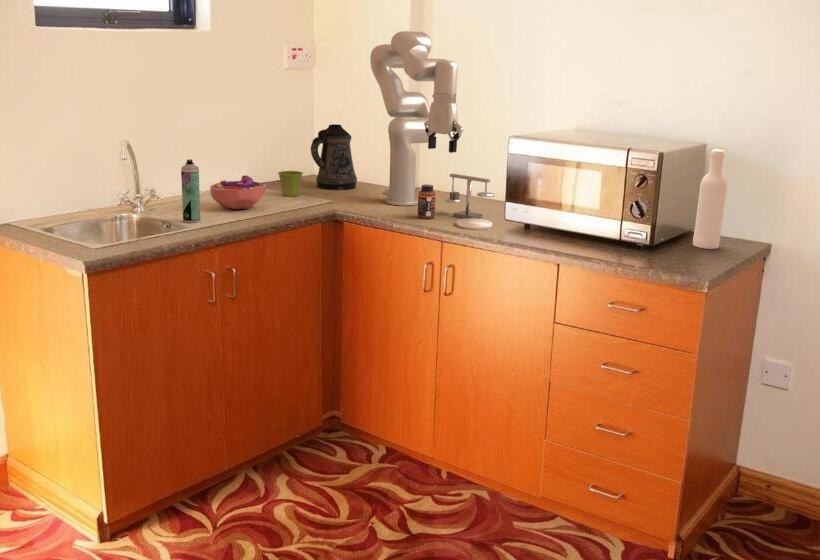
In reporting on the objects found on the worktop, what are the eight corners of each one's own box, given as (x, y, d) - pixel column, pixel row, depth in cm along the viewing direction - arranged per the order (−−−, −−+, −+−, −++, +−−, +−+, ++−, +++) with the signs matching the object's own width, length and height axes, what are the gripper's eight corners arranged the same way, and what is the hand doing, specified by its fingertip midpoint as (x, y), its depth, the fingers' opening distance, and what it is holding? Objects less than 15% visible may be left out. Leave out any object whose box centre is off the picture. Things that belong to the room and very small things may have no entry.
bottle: (688, 242, 274) (700, 148, 266) (712, 243, 274) (725, 148, 266) (698, 249, 266) (710, 151, 258) (723, 249, 267) (736, 152, 259)
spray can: (194, 218, 284) (192, 158, 278) (203, 221, 280) (201, 160, 274) (179, 220, 280) (177, 159, 274) (188, 223, 276) (186, 161, 271)
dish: (449, 225, 287) (449, 221, 287) (470, 220, 296) (470, 216, 296) (478, 231, 280) (478, 227, 280) (499, 225, 289) (499, 222, 288)
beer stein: (363, 185, 356) (364, 124, 349) (343, 192, 339) (344, 128, 332) (327, 182, 362) (327, 121, 355) (305, 189, 344) (305, 125, 337)
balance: (439, 213, 305) (441, 173, 302) (450, 211, 310) (451, 172, 306) (486, 222, 293) (488, 181, 289) (496, 220, 298) (498, 179, 294)
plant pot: (301, 197, 326) (301, 175, 323) (276, 197, 326) (276, 174, 323) (304, 193, 335) (304, 171, 332) (280, 192, 335) (280, 170, 332)
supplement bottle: (433, 219, 295) (434, 187, 292) (416, 218, 296) (417, 186, 293) (436, 216, 300) (437, 184, 297) (419, 215, 301) (420, 183, 298)
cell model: (201, 207, 302) (200, 175, 299) (250, 201, 315) (250, 171, 312) (225, 215, 290) (224, 182, 287) (276, 209, 303) (275, 177, 300)
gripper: (418, 96, 290) (416, 147, 295) (455, 101, 278) (453, 154, 283) (434, 96, 295) (431, 146, 300) (471, 100, 283) (468, 153, 288)
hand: (442, 150), depth 291 cm, fingers open, 9 cm apart
